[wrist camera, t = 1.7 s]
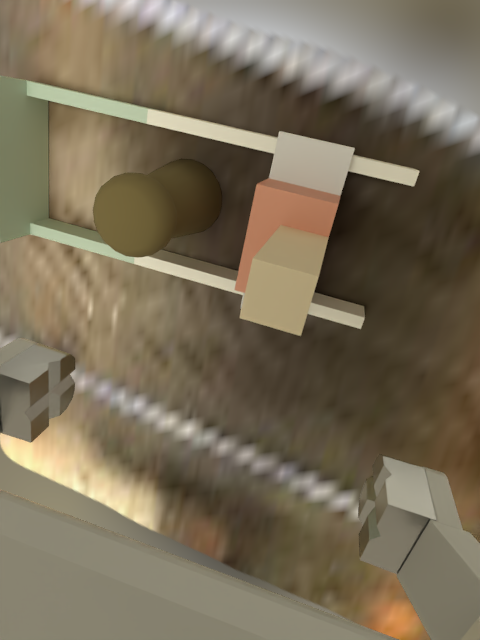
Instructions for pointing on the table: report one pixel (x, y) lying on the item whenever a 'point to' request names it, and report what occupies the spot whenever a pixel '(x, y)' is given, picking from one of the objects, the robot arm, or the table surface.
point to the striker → (290, 230)
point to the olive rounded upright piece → (156, 207)
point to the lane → (33, 218)
